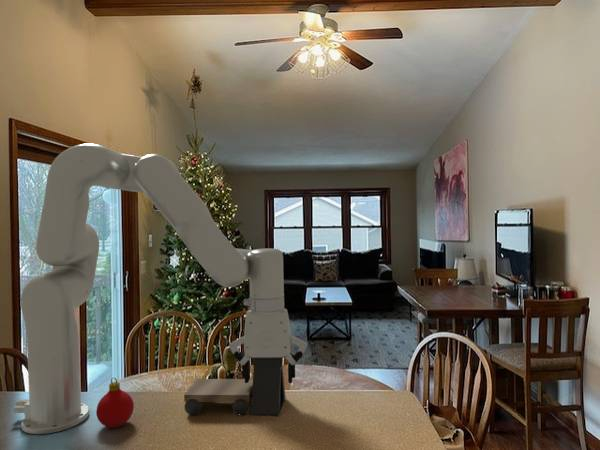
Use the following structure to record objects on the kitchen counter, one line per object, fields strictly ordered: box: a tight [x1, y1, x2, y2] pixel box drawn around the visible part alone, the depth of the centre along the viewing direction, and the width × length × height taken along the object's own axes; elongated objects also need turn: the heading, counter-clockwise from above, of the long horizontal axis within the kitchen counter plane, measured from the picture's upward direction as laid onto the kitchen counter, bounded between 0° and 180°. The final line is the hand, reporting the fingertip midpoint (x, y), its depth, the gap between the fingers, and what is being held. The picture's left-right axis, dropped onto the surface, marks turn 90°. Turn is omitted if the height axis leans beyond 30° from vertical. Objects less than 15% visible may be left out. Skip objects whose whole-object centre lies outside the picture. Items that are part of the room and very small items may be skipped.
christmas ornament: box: [95, 377, 135, 429], centre depth 90 cm, size 7×7×10 cm
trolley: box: [183, 378, 253, 416], centre depth 98 cm, size 14×9×4 cm, turn 87°
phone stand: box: [250, 358, 286, 417], centre depth 97 cm, size 9×6×12 cm, turn 172°
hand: (269, 380), depth 97 cm, fingers open, 9 cm apart
